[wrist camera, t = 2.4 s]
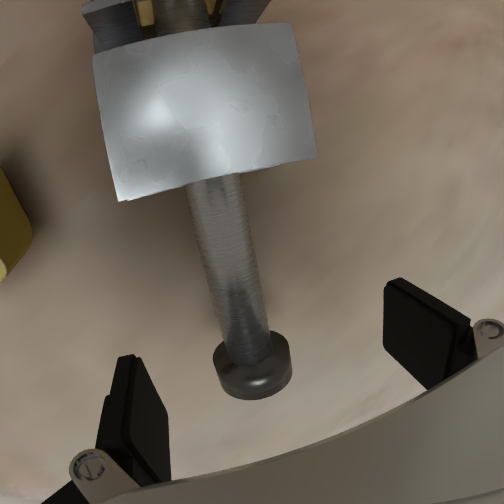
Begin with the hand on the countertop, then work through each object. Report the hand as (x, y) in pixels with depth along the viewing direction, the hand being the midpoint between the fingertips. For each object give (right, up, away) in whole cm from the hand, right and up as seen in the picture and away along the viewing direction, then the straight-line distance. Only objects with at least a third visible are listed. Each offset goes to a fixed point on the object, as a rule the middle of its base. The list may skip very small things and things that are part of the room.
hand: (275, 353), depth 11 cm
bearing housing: (-5, +12, +10) cm, 17 cm away
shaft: (-4, +9, +6) cm, 12 cm away
